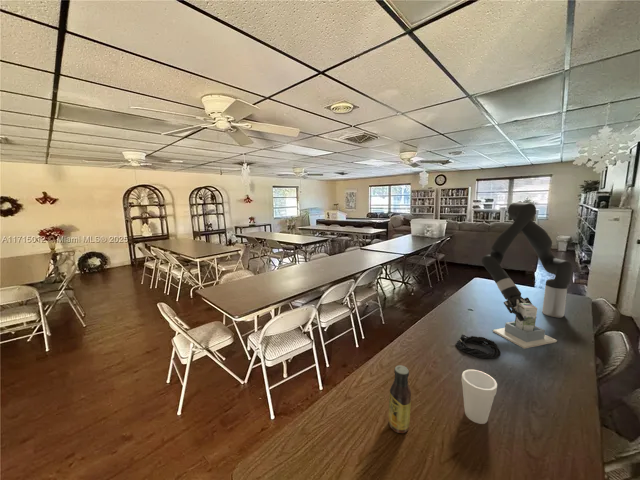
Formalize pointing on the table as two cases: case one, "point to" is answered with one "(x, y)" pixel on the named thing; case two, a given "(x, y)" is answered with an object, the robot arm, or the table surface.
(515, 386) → the table surface
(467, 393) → the foam cup
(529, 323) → the syrup box
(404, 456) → the table surface
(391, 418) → the sauce bottle
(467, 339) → the cable
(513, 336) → the end holder
